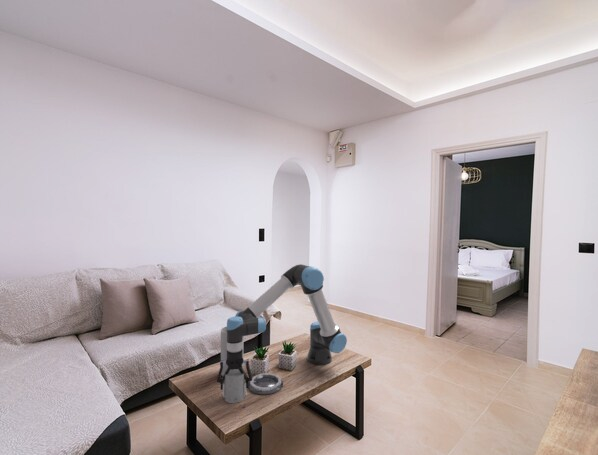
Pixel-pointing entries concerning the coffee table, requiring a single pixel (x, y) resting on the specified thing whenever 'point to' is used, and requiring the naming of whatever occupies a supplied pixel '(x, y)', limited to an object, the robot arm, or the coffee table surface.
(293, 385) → the coffee table surface
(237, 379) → the beer can
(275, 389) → the round grey metal tray
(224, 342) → the cylinder vase
